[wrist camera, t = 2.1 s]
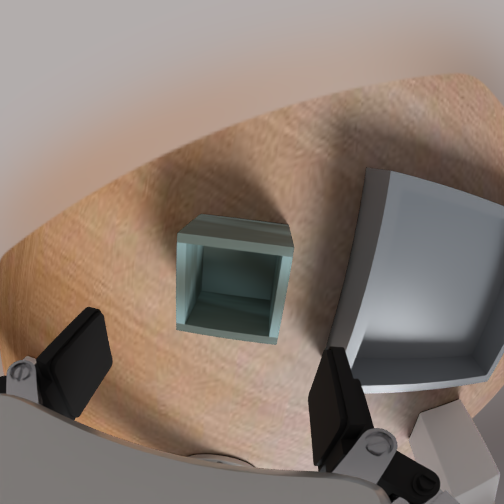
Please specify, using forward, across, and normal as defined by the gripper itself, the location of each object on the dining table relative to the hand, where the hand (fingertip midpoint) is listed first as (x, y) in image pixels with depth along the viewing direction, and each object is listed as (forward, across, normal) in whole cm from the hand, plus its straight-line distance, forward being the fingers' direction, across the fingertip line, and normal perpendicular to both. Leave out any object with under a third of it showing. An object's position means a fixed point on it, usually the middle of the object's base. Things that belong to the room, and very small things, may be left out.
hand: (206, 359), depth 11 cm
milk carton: (+13, -30, +22) cm, 39 cm away
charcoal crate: (+13, -19, +1) cm, 23 cm away
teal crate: (+13, 0, +1) cm, 13 cm away
